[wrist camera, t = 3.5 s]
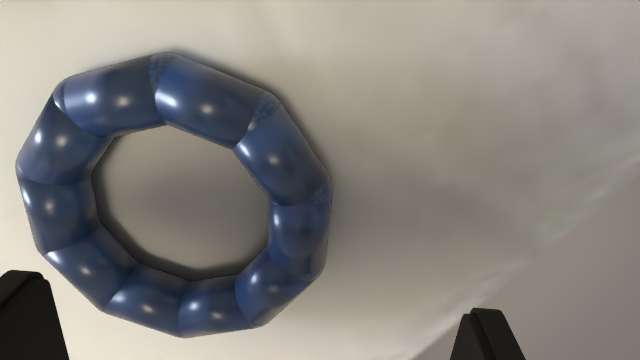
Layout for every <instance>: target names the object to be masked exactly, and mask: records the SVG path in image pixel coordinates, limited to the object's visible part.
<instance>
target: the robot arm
mask: <svg viewBox="0 0 640 360" xmlns="http://www.w3.org/2000/svg"><path fill="white" fill-rule="evenodd" d="M0 360H69V356H68V353H67V349H66V345H65V341H64V337H63V333H62V329H61V325H60V321H59V317H58V314H57V310H56V306H55V302H54V298H53V294H52V290H51V286H50V283H49V281H48V280H46V279H44V278H43V275H42V274H41V273H39V272H32V271H19V270H10V271H8V272H6V273H5V274H3V275H2V276H1V277H0ZM450 360H526V359H525V357H524V355H523V353H522V351H521V349H520V347H519V345H518V343H517V341H516V339H515V337H514V335H513V333H512V331H511V329H510V327H509V325H508V323H507V320H506V318H505V316H504V315H503V313H502V311H500V310H496V309H484V308H473V309H472V310H471V312H470V314H464V315H463V316H462V319H461V322H460V326H459V329H458V333H457V336H456V340H455V343H454V347H453V351H452V354H451V357H450Z"/></svg>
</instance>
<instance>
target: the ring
mask: <svg viewBox="0 0 640 360" xmlns="http://www.w3.org/2000/svg"><path fill="white" fill-rule="evenodd" d="M164 125H170V126H172V127H175V128H177V129H180V130H182V131H185V132H187V133H190V134H193V135H195V136H198V137H200V138H203V139H205V140H208V141H210V142H213V143H216V144H218V145H221V146H223V147H226V148H228V149H231V150H232V151H233V152H234V153H235V155H236V156H237V157H238V159H239V160H240V162H241V163H242V164H243V166H244V167H245V168H246V170H247V171H248V172H249V174H250V175H251V176H252V178H253V179H254V180H255V182H256V183H257V184H258V186H259V187H260V188H261V190H262V191H263V192H264V194H265V195H266V196H267V198H268V199H269V226H268V245H267V246H266V247H265V248H264V249H263V250H262V252H261V253H260V254H259V255H258V256H257V257H256V258H255V259H254V260H253V261H252V262H251V263H250V264H249V265H248V266H247V267H246V268H245V269H244V270H243V271H242V272H241V273H240V274H235V275H229V276H223V277H217V278H211V279H205V280H199V281H193V282H191V281H188V280H185V279H182V278H180V277H177V276H174V275H171V274H168V273H165V272H162V271H160V270H157V269H154V268H151V267H148V266H145V265H142V264H139V263H138V262H137V261H136V260H135V259H134V258H133V257H132V256H131V255H130V254H129V253H128V252H127V251H126V250H125V249H124V248H123V246H122V245H121V244H120V243H119V242H118V241H117V240H116V239H115V238H114V237H113V236H112V235H111V234H110V233H109V232H108V231H107V230H106V229H105V227H104V226H103V225H102V224H101V223H100V222H99V218H98V213H97V207H96V202H95V196H94V191H93V185H92V180H91V174H90V173H91V172H92V170H93V169H94V167H95V166H96V164H97V163H98V161H99V159H100V158H101V156H102V155H103V153H104V152H105V150H106V149H107V147H108V146H109V144H110V143H111V141H112V140H113V138H114V137H117V136H121V135H126V134H130V133H134V132H138V131H143V130H147V129H151V128H156V127H160V126H164ZM15 168H16V175H17V178H18V182H19V186H20V190H21V193H22V197H23V201H24V205H25V209H26V212H27V216H28V220H29V224H30V227H31V231H32V235H33V239H34V242H35V246H36V248H37V250H38V251H39V253H40V254H41V255H42V256H43V257H44V258H45V259H46V260H47V261H48V262H49V263H50V264H51V265H52V266H53V267H54V268H55V269H57V270H58V271H59V272H60V273H61V274H62V275H63V276H64V277H65V278H66V279H67V280H68V281H69V282H70V283H71V284H72V285H73V286H74V287H75V288H76V289H77V290H78V291H80V292H81V293H82V294H83V295H84V296H85V297H86V298H87V299H88V300H89V301H90V302H91V303H92V304H93V305H94V306H95V307H96V308H97V309H99V310H100V311H102V312H104V313H106V314H109V315H112V316H115V317H118V318H121V319H124V320H127V321H130V322H133V323H136V324H139V325H142V326H145V327H148V328H151V329H154V330H157V331H160V332H163V333H166V334H169V335H172V336H175V337H179V338H191V337H198V336H205V335H212V334H219V333H226V332H233V331H239V330H246V329H253V328H258V327H261V326H264V325H266V324H267V323H268V322H270V321H271V320H272V319H273V318H274V317H275V316H276V315H277V314H279V313H280V312H281V311H282V310H283V309H284V308H285V307H286V306H287V305H288V304H289V303H291V302H292V301H293V300H294V299H295V298H296V297H297V296H298V295H299V294H300V293H301V292H303V291H304V290H305V289H306V288H307V287H308V286H309V285H310V284H311V283H312V282H313V281H314V280H316V279H317V278H318V276H319V275H320V274H321V272H322V271H323V269H324V266H325V262H326V254H327V243H328V233H329V223H330V212H331V202H332V182H331V179H330V177H329V175H328V173H327V171H326V170H325V168H324V167H323V165H322V164H321V162H320V161H319V159H318V158H317V156H316V155H315V153H314V152H313V150H312V149H311V147H310V146H309V144H308V143H307V141H306V140H305V138H304V137H303V135H302V134H301V132H300V131H299V129H298V128H297V126H296V124H295V123H294V121H293V120H292V118H291V117H290V115H289V114H288V112H287V111H286V109H285V108H284V106H283V105H282V103H281V102H280V101H279V100H278V99H277V98H276V97H275V96H274V95H273V94H271V93H270V92H268V91H266V90H263V89H261V88H259V87H256V86H254V85H251V84H249V83H246V82H244V81H242V80H239V79H237V78H234V77H232V76H229V75H227V74H225V73H222V72H220V71H217V70H215V69H212V68H210V67H208V66H205V65H203V64H200V63H198V62H195V61H193V60H191V59H188V58H186V57H183V56H181V55H178V54H174V53H168V52H163V53H156V54H152V55H148V56H145V57H141V58H137V59H133V60H129V61H125V62H122V63H118V64H114V65H110V66H106V67H102V68H99V69H95V70H91V71H87V72H83V73H80V74H76V75H72V76H70V77H68V78H66V79H64V80H63V81H61V82H60V83H59V84H58V85H57V87H56V88H55V89H54V91H53V92H52V94H51V96H50V98H49V100H48V102H47V103H46V105H45V107H44V109H43V111H42V112H41V114H40V116H39V118H38V120H37V121H36V123H35V125H34V127H33V129H32V130H31V132H30V134H29V136H28V138H27V139H26V141H25V143H24V145H23V147H22V149H21V150H20V152H19V154H18V157H17V159H16V165H15Z"/></svg>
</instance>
